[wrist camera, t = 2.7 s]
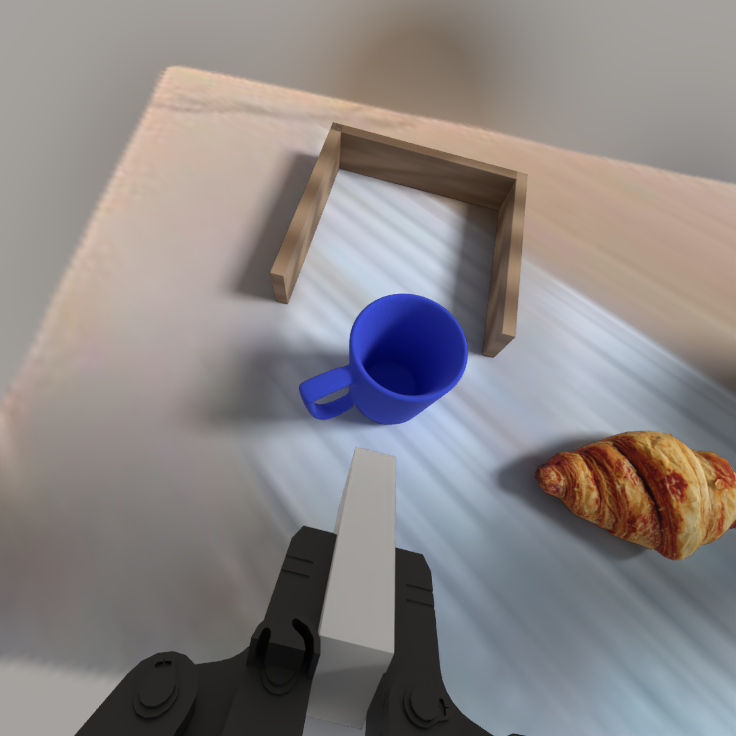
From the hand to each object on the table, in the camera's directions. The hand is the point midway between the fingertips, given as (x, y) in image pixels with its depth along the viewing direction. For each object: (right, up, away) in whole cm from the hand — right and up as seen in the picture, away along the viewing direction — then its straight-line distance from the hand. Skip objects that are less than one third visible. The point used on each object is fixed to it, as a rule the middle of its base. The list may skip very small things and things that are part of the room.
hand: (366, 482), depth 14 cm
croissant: (+24, -7, +20) cm, 32 cm away
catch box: (+4, +17, +27) cm, 32 cm away
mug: (0, +1, +20) cm, 20 cm away
